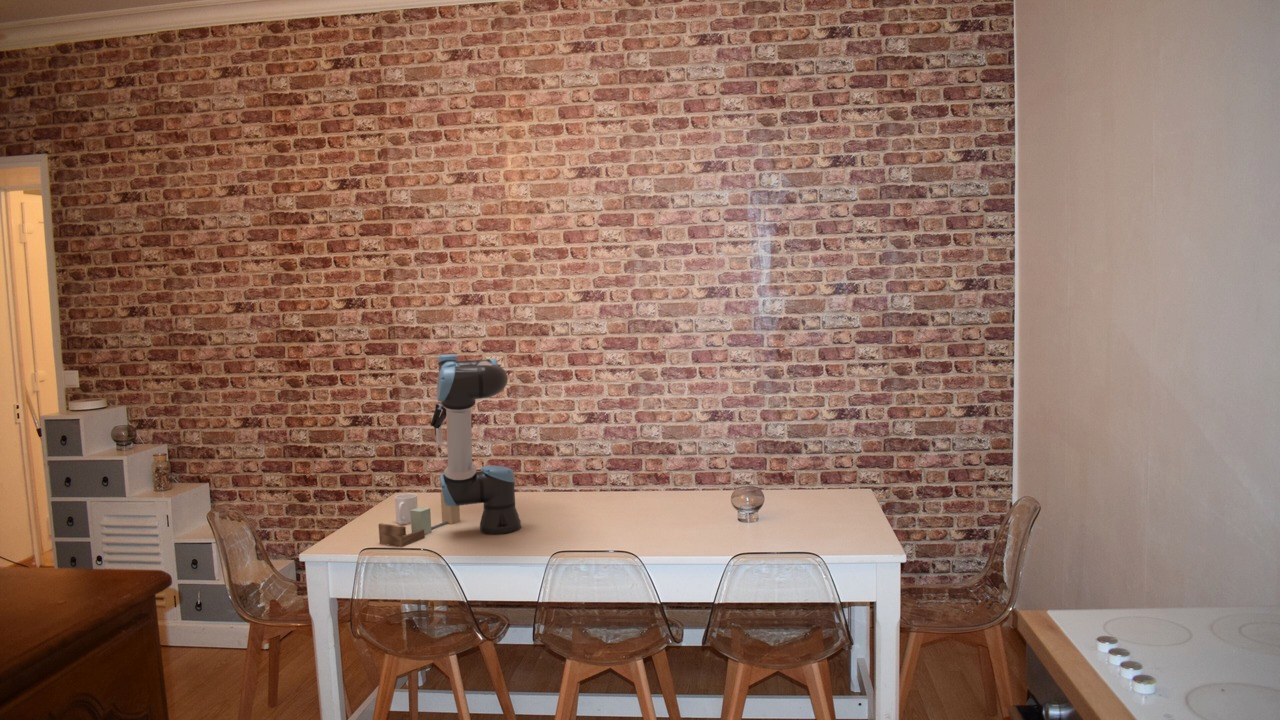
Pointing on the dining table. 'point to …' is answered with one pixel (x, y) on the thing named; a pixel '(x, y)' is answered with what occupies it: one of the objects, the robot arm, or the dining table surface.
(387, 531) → the lane
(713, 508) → the dining table surface
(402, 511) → the cup
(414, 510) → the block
